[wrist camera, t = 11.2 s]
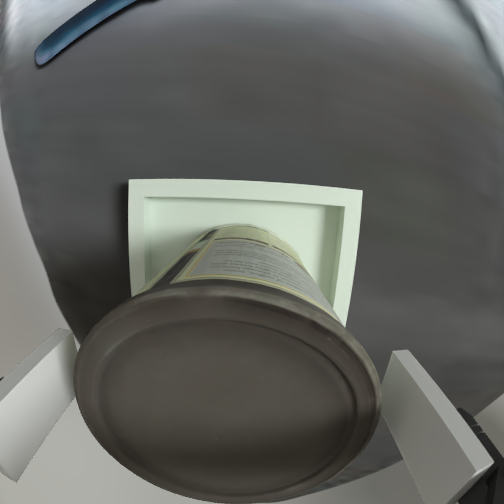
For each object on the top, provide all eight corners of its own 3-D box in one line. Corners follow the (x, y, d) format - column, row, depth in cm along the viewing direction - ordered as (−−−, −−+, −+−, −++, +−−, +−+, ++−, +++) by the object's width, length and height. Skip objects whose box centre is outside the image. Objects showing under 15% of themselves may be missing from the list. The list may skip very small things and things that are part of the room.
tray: (139, 180, 20) (129, 179, 18) (352, 190, 20) (362, 190, 18) (148, 365, 24) (142, 377, 22) (326, 375, 24) (331, 388, 22)
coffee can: (289, 360, 23) (317, 510, 9) (166, 335, 22) (93, 469, 8) (325, 238, 20) (436, 322, 7) (184, 208, 20) (62, 246, 6)
